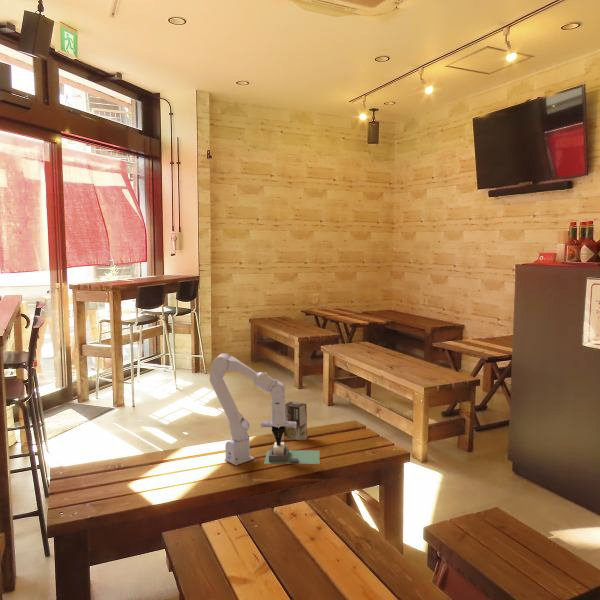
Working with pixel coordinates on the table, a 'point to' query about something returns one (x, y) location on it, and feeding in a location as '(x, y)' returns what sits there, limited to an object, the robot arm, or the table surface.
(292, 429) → the coffee box
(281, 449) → the plug
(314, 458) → the board
